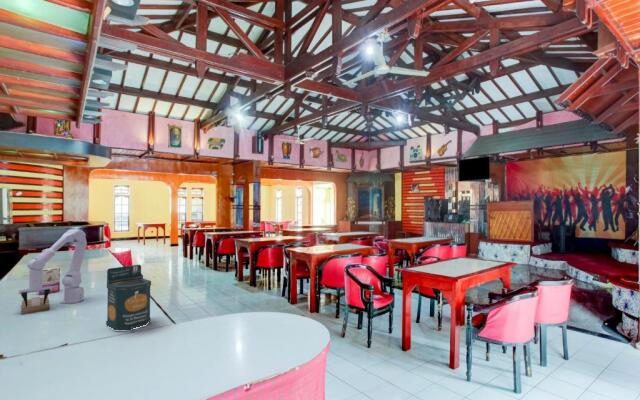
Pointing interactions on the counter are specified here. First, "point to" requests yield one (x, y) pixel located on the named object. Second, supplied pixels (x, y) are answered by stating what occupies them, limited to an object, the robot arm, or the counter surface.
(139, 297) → the donation box
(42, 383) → the counter surface
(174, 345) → the counter surface
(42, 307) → the socket board
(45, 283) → the candy bar box
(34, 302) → the plug
